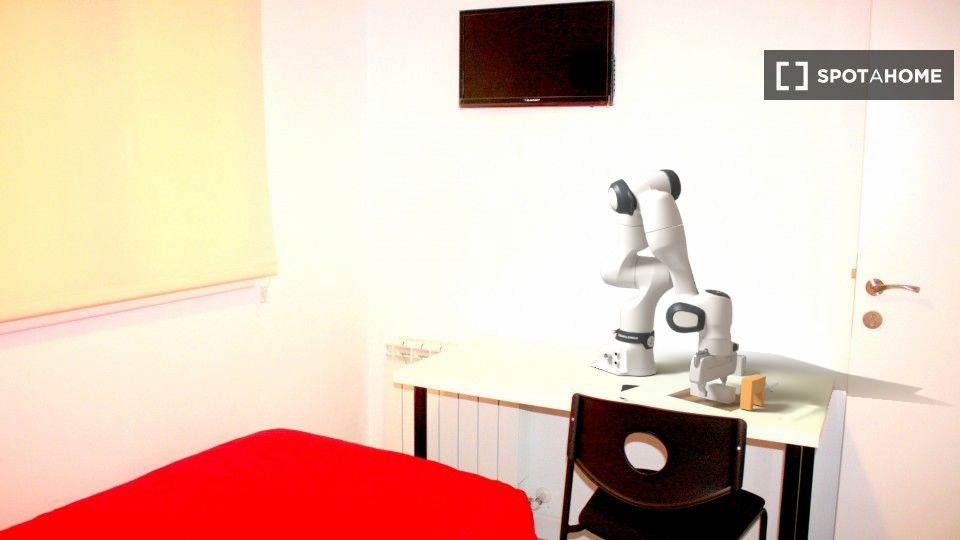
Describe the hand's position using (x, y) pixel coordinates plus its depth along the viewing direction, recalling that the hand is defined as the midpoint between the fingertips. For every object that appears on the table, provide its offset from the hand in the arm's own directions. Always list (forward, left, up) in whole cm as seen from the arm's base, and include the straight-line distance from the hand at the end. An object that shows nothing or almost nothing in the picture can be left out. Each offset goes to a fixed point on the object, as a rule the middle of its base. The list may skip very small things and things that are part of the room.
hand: (711, 393), depth 210 cm
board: (0, 0, -3) cm, 3 cm away
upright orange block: (+12, 0, -1) cm, 12 cm away
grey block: (-13, +37, -3) cm, 40 cm away
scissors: (+4, +27, -4) cm, 28 cm away
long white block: (0, 0, -1) cm, 1 cm away
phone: (-21, -9, -3) cm, 23 cm away
